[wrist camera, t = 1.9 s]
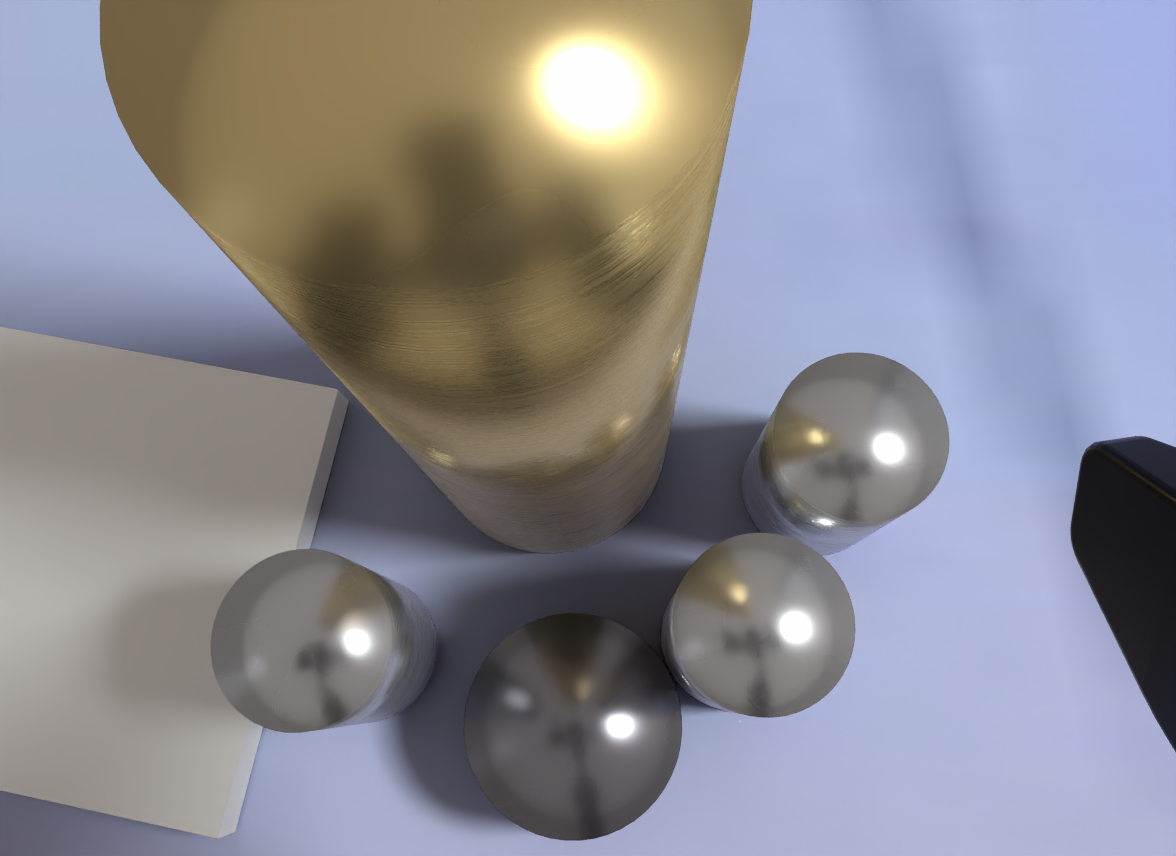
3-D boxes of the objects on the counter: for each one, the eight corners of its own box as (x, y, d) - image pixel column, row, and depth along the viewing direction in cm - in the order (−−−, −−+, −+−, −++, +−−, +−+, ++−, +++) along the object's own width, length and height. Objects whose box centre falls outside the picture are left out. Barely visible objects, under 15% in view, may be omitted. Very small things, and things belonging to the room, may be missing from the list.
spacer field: (830, 886, 17) (892, 943, 13) (264, 763, 18) (167, 784, 14) (890, 432, 19) (958, 369, 15) (375, 340, 20) (317, 256, 16)
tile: (235, 831, 18) (217, 838, 17) (-186, 738, 18) (-221, 741, 18) (349, 400, 20) (337, 388, 19) (-36, 329, 20) (-62, 314, 20)
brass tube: (643, 573, 19) (692, 343, 6) (412, 528, 19) (10, 223, 6) (684, 350, 20) (797, -237, 7) (464, 312, 20) (205, -315, 8)
